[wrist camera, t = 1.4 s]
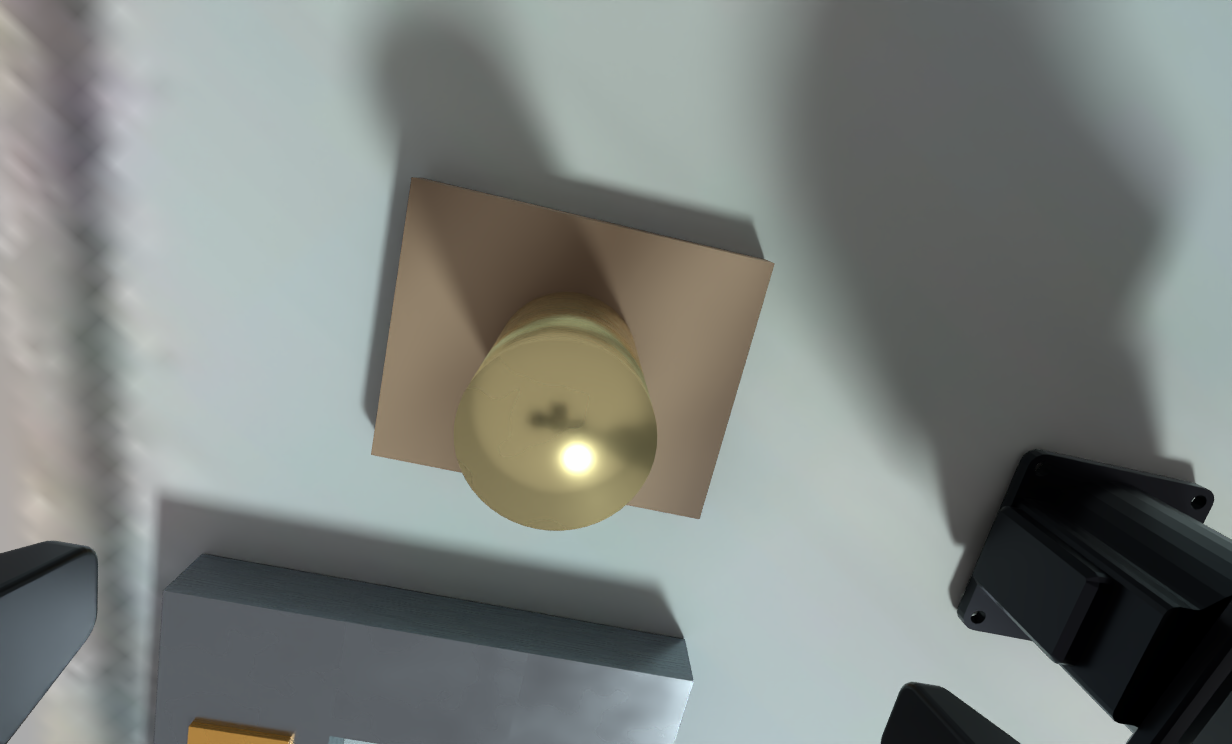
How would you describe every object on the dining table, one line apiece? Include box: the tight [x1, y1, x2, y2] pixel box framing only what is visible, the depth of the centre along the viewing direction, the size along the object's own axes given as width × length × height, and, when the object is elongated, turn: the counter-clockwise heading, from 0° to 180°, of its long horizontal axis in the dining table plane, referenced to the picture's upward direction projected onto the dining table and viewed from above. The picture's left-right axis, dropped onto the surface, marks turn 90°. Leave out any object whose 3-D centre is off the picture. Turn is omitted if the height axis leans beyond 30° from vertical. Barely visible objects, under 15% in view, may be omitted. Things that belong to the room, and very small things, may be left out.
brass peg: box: [454, 292, 657, 531], centre depth 16 cm, size 4×4×6 cm
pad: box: [371, 177, 775, 519], centre depth 19 cm, size 10×8×1 cm
